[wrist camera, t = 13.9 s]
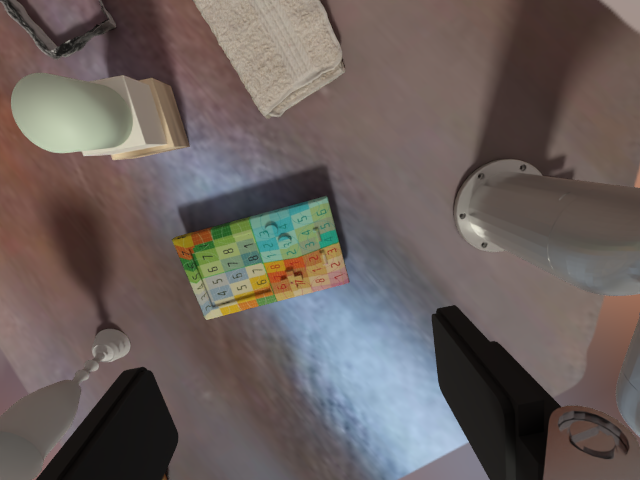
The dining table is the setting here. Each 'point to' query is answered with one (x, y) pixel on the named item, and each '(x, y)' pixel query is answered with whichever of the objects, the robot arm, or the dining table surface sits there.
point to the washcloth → (276, 48)
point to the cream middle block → (135, 116)
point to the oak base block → (162, 122)
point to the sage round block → (70, 113)
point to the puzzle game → (263, 258)
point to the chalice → (49, 413)
